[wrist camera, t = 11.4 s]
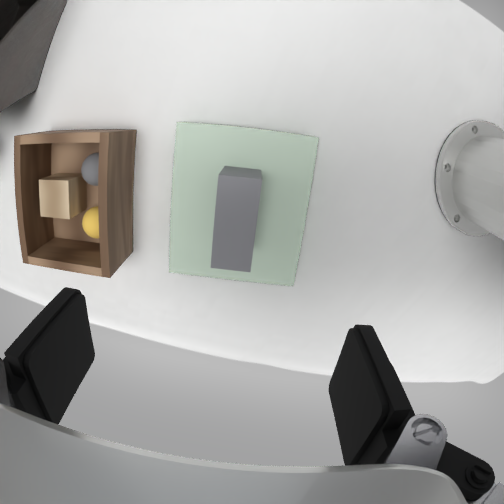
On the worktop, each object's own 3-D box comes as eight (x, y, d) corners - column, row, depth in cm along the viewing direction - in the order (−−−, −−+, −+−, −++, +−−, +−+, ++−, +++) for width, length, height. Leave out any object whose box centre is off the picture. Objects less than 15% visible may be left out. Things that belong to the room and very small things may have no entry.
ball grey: (119, 151, 26) (105, 154, 24) (117, 183, 28) (104, 189, 25) (91, 150, 26) (75, 154, 24) (90, 181, 27) (75, 188, 25)
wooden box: (136, 129, 26) (109, 132, 21) (132, 251, 31) (110, 278, 25) (50, 130, 26) (14, 135, 21) (53, 240, 31) (23, 262, 25)
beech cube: (86, 173, 27) (68, 180, 24) (87, 208, 28) (69, 219, 25) (58, 172, 27) (38, 179, 24) (59, 206, 28) (40, 216, 25)
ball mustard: (117, 203, 28) (104, 212, 26) (117, 233, 29) (105, 245, 27) (90, 201, 28) (76, 210, 25) (91, 230, 29) (77, 241, 27)
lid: (314, 136, 27) (332, 140, 21) (291, 276, 32) (299, 315, 26) (182, 122, 27) (160, 121, 20) (173, 263, 32) (154, 299, 25)
